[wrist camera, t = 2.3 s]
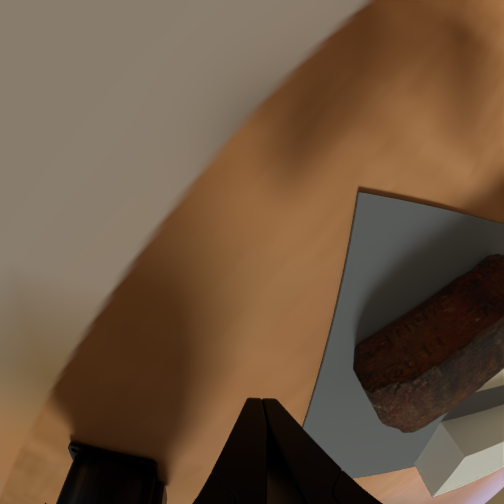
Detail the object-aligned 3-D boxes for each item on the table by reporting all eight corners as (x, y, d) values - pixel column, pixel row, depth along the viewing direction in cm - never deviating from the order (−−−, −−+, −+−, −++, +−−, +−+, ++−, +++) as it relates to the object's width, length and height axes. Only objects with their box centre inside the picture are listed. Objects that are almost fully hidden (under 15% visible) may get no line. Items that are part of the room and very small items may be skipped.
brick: (493, 243, 14) (550, 268, 10) (501, 296, 15) (550, 327, 11) (340, 347, 15) (372, 407, 11) (364, 393, 16) (394, 450, 12)
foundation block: (414, 463, 19) (432, 497, 15) (440, 421, 18) (464, 457, 14) (490, 439, 20) (509, 464, 16) (514, 400, 19) (537, 424, 15)
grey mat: (282, 482, 19) (282, 484, 18) (357, 191, 13) (359, 192, 13) (489, 440, 20) (490, 441, 20) (574, 245, 15) (576, 246, 15)
